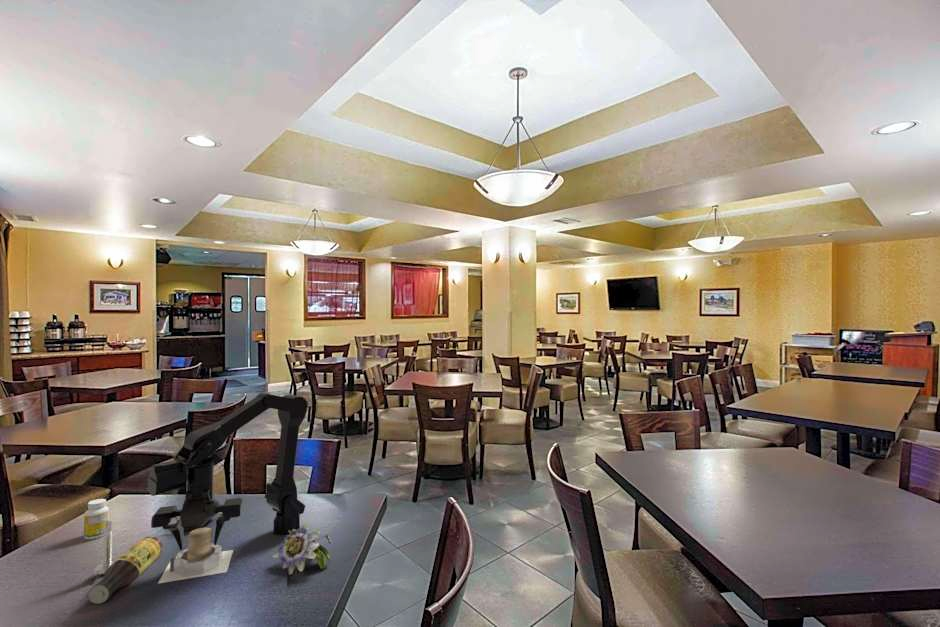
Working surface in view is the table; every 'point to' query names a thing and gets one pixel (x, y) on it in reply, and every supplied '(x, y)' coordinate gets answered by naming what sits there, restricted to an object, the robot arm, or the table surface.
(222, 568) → the base plate
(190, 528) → the end cap
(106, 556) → the graduated cylinder
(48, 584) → the table surface
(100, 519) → the supplement bottle
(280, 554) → the passion flower
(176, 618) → the table surface
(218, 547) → the white faceted ring
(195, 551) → the maple peg
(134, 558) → the sauce bottle
